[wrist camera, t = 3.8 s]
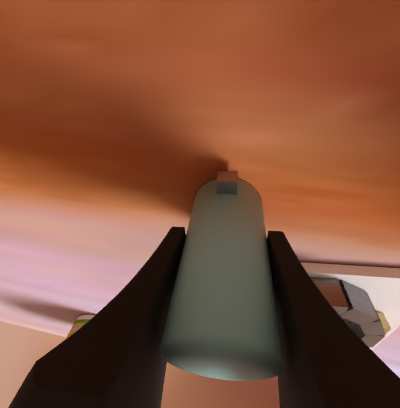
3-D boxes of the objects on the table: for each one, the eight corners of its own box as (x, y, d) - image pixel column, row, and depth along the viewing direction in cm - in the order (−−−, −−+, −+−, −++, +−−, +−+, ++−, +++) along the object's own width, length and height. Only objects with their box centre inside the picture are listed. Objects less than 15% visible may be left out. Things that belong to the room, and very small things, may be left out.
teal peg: (267, 166, 11) (303, 335, 5) (257, 237, 15) (271, 391, 9) (190, 165, 12) (141, 318, 6) (197, 234, 15) (172, 377, 9)
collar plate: (441, 270, 14) (477, 314, 12) (366, 341, 22) (381, 375, 20) (213, 256, 17) (209, 291, 14) (216, 325, 24) (214, 355, 22)
